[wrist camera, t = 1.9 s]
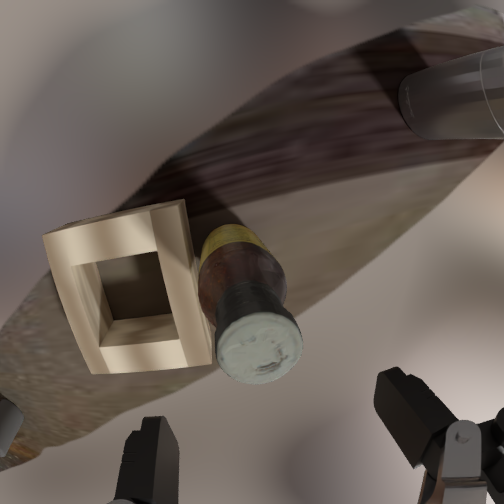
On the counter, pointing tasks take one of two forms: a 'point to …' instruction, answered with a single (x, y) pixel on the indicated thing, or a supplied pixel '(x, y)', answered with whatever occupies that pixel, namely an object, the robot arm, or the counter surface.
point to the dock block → (95, 302)
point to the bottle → (8, 424)
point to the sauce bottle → (247, 306)
